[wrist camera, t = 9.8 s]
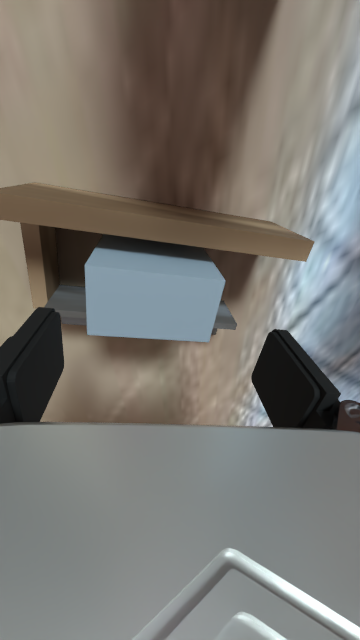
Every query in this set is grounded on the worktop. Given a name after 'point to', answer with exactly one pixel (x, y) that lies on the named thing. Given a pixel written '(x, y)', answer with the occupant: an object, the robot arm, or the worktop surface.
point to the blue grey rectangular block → (151, 290)
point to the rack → (128, 221)
